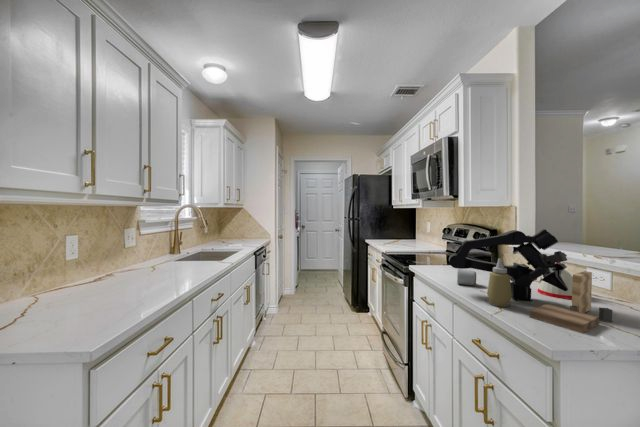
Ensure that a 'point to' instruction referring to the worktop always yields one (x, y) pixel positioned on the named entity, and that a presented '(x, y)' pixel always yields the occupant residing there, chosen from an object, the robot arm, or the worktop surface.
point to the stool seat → (565, 318)
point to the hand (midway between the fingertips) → (566, 290)
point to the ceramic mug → (466, 277)
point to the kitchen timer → (554, 291)
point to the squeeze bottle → (499, 286)
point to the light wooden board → (581, 292)
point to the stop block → (605, 314)
